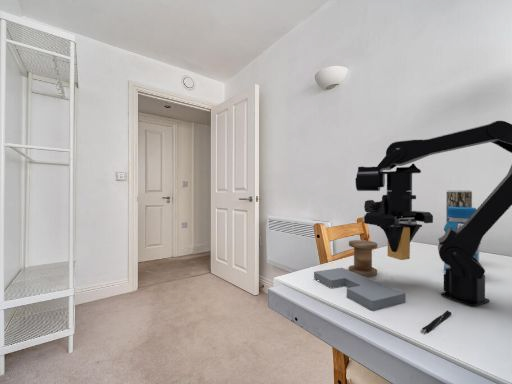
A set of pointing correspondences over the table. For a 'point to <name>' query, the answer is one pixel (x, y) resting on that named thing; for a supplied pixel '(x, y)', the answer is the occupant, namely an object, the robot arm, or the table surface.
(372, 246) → the bobbin
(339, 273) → the board
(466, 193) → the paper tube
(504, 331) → the table surface
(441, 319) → the black twisted rod
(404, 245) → the tan upright block
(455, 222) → the beverage bottle
